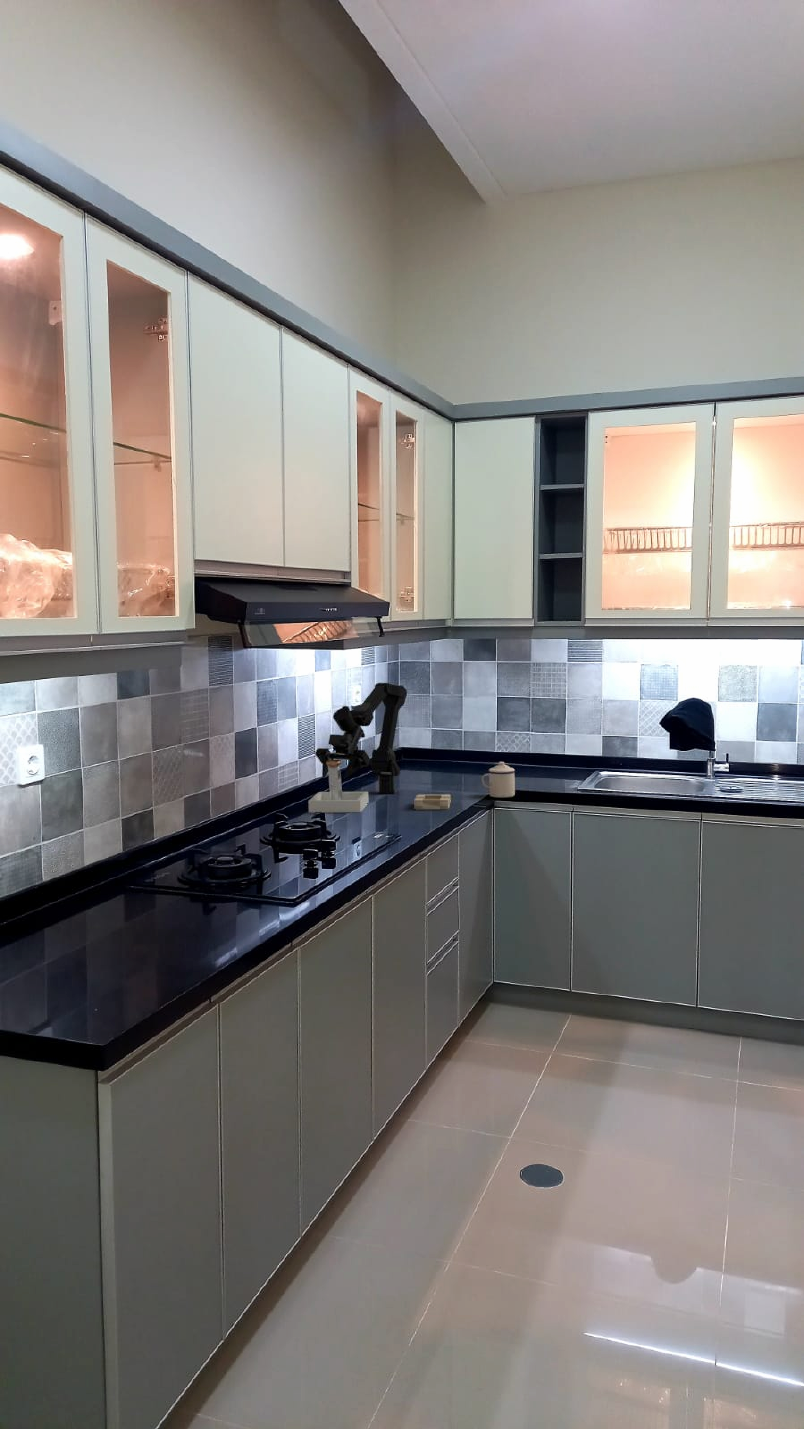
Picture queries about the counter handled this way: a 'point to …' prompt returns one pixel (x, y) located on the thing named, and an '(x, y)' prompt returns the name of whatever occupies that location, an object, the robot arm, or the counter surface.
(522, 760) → the counter surface
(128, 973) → the counter surface
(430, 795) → the block
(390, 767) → the robot arm
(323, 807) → the tray
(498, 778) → the teacup with lid
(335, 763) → the metal pin
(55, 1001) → the counter surface
